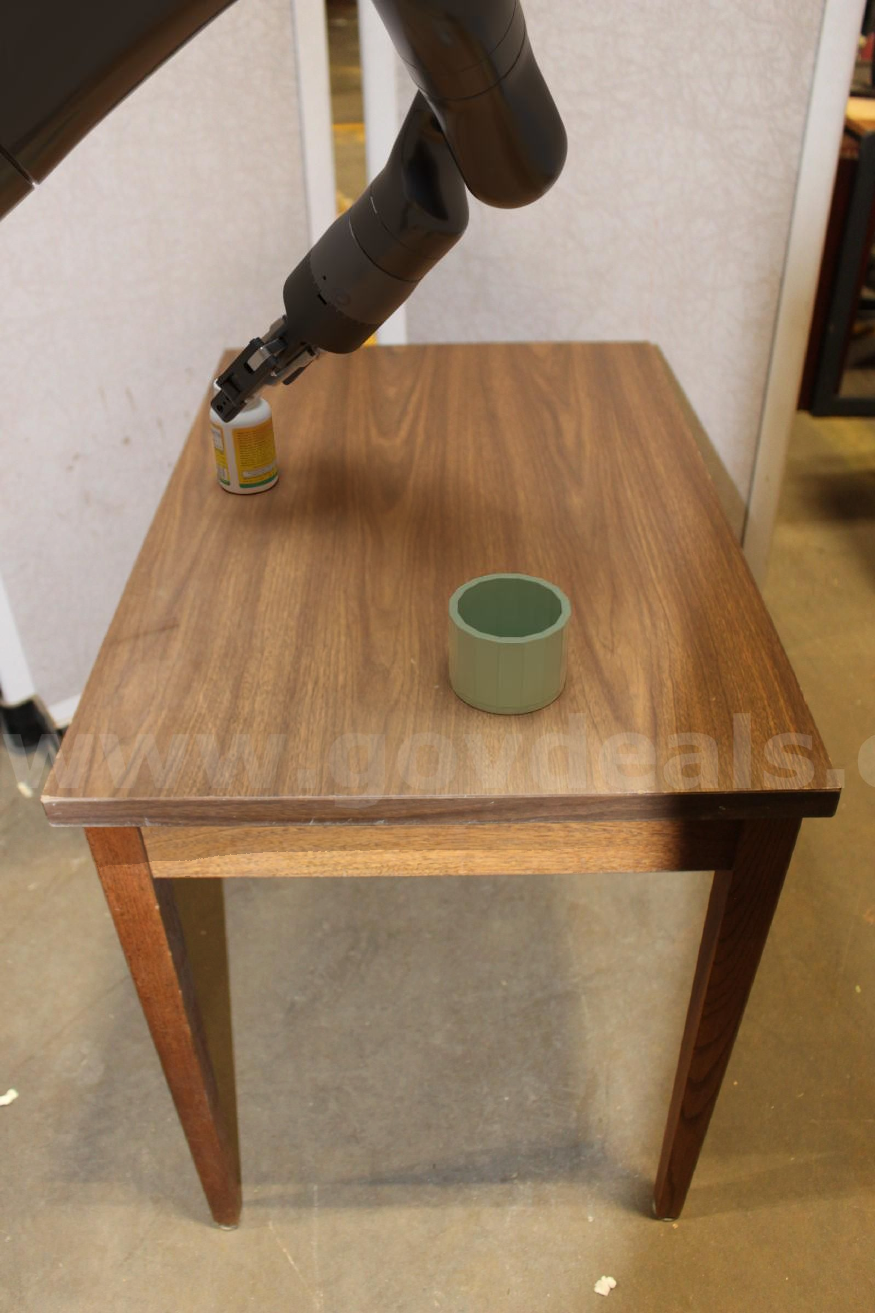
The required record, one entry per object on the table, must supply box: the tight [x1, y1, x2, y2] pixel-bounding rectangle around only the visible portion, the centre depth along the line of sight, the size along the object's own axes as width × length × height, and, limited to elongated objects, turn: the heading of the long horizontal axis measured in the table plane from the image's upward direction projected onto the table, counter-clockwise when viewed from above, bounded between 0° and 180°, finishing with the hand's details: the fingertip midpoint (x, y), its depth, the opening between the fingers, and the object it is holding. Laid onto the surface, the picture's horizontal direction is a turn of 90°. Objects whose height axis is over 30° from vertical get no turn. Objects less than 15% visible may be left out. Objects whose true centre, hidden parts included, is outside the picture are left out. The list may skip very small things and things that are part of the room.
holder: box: [448, 572, 572, 716], centre depth 72 cm, size 8×8×6 cm
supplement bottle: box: [209, 377, 279, 495], centre depth 94 cm, size 5×5×10 cm
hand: (250, 393), depth 91 cm, fingers open, 8 cm apart
